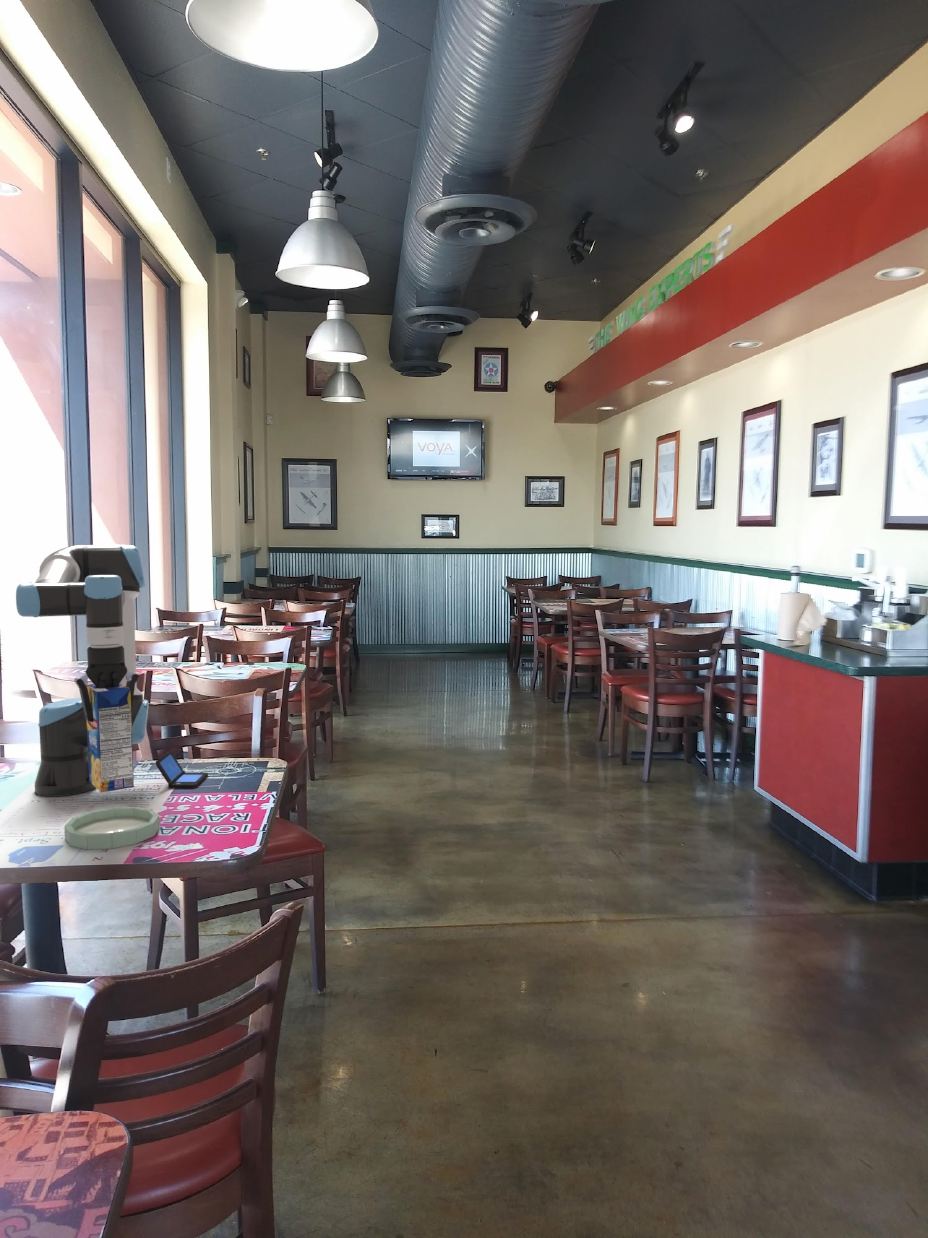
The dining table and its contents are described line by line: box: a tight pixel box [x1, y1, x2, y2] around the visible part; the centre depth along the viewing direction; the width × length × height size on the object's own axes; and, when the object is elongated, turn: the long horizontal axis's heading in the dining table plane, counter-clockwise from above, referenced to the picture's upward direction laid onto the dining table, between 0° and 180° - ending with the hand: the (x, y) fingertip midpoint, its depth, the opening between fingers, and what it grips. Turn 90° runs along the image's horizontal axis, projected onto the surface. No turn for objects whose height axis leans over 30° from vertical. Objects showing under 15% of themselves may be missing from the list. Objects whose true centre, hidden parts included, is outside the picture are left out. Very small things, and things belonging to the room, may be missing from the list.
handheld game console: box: [155, 750, 209, 789], centre depth 230 cm, size 12×11×7 cm
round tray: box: [64, 806, 161, 850], centre depth 191 cm, size 19×19×3 cm
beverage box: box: [86, 683, 135, 793], centre depth 188 cm, size 7×11×22 cm, turn 36°
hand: (109, 750), depth 189 cm, fingers closed on beverage box, 2 cm apart
